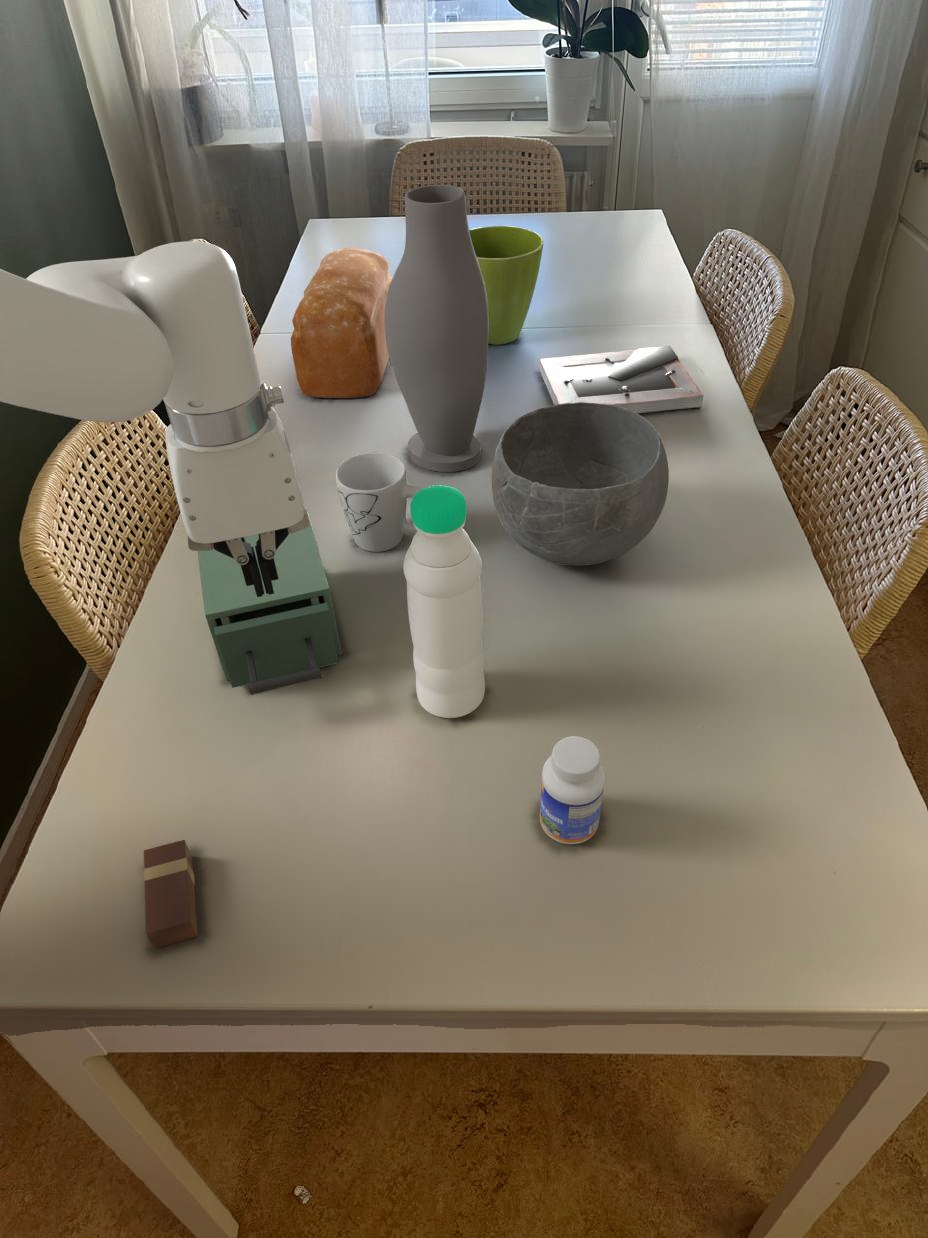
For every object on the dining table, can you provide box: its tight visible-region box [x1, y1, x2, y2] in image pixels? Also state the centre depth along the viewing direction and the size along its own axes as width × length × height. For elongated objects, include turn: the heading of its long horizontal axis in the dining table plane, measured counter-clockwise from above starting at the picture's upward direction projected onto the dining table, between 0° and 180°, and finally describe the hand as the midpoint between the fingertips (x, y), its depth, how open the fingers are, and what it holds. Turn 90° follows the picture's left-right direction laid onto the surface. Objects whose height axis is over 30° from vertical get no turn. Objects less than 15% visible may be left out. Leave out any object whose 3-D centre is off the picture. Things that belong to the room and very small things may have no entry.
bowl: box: [490, 402, 670, 567], centre depth 103 cm, size 20×20×15 cm
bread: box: [290, 247, 393, 399], centre depth 141 cm, size 14×26×16 cm, turn 176°
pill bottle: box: [539, 735, 606, 845], centre depth 75 cm, size 5×5×10 cm
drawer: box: [214, 597, 340, 695], centre depth 92 cm, size 19×11×8 cm, turn 17°
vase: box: [385, 184, 489, 473], centre depth 112 cm, size 13×13×35 cm
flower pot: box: [469, 225, 545, 345], centre depth 146 cm, size 15×15×16 cm
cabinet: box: [197, 508, 343, 681], centre depth 96 cm, size 15×13×10 cm
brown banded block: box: [142, 839, 199, 950], centre depth 73 cm, size 4×8×3 cm, turn 17°
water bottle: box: [403, 484, 486, 719], centre depth 82 cm, size 7×7×25 cm
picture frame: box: [538, 345, 705, 415], centre depth 135 cm, size 16×2×22 cm
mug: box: [335, 451, 423, 553], centre depth 106 cm, size 11×8×10 cm
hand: (263, 586), depth 81 cm, fingers closed
